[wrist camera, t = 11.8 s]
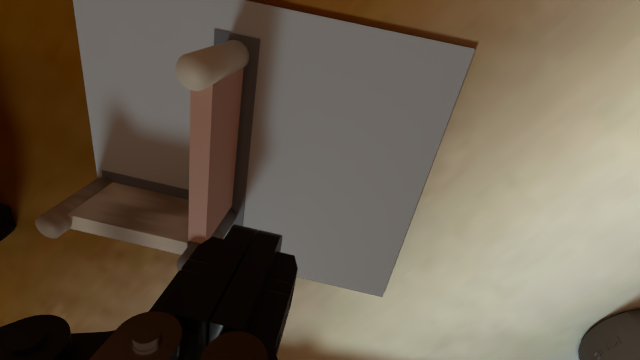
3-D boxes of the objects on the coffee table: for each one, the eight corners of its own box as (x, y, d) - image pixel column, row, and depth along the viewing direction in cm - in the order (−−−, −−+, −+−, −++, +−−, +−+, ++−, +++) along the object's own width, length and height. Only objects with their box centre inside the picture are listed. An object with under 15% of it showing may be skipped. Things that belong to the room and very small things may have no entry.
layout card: (474, 48, 21) (475, 49, 21) (382, 294, 31) (382, 297, 31) (71, -37, 22) (66, -38, 22) (107, 229, 32) (104, 232, 32)
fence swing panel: (235, 206, 28) (203, 255, 23) (213, 201, 28) (176, 248, 23) (250, 43, 22) (211, 57, 17) (222, 37, 22) (175, 49, 17)
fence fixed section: (237, 207, 28) (203, 259, 23) (235, 224, 29) (202, 280, 24) (94, 174, 29) (26, 218, 23) (97, 192, 30) (31, 239, 24)
